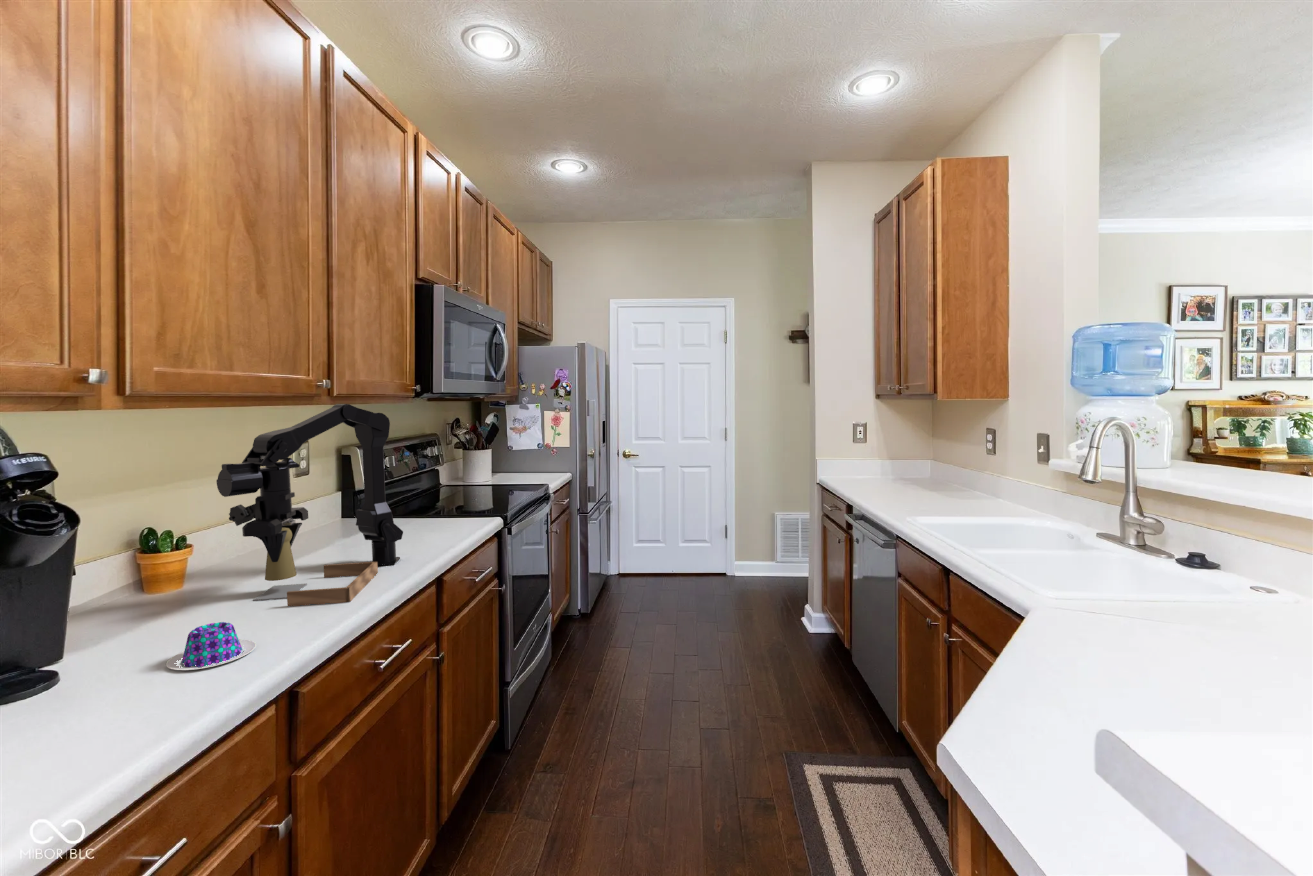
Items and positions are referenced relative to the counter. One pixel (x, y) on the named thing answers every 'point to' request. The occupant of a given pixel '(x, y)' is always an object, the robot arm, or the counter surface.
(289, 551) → the cork
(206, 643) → the patterned hat
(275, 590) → the grey mat
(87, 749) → the counter surface
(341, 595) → the wooden u-shaped frame
